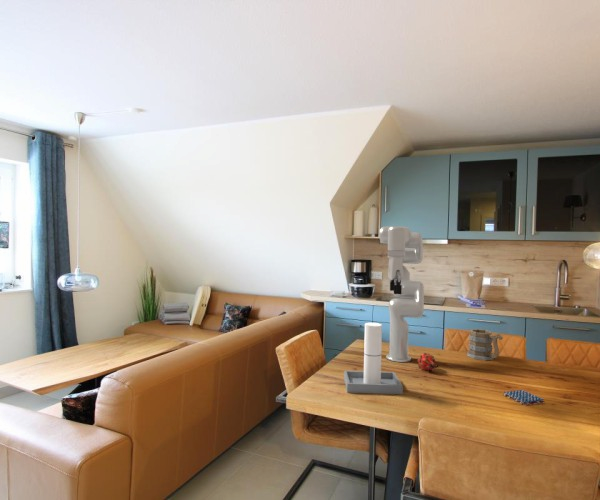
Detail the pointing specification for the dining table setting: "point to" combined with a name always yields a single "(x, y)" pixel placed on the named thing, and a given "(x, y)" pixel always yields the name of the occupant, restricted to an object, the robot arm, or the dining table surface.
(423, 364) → the dragon fruit
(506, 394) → the woven mat
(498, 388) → the dining table surface
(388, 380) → the tray
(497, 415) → the dining table surface
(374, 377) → the cylindrical container
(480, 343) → the tankard
